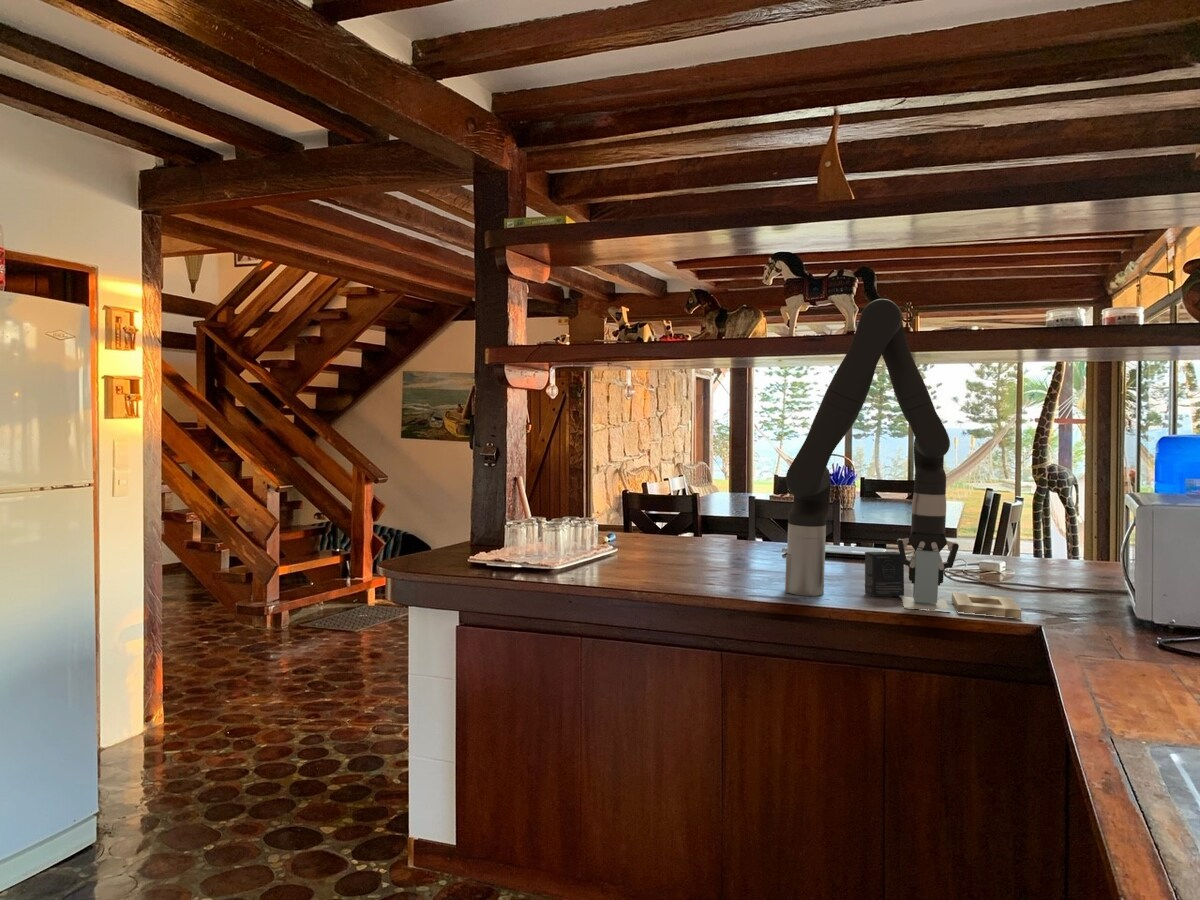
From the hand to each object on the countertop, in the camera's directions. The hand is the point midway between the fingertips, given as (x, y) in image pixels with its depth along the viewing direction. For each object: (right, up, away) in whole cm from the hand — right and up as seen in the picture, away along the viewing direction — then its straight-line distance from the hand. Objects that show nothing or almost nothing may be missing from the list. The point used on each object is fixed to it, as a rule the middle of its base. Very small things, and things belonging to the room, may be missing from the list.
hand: (925, 583), depth 196 cm
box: (-7, -5, +10) cm, 12 cm away
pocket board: (+12, -6, -4) cm, 14 cm away
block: (0, -4, 0) cm, 4 cm away
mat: (0, -5, 0) cm, 5 cm away
